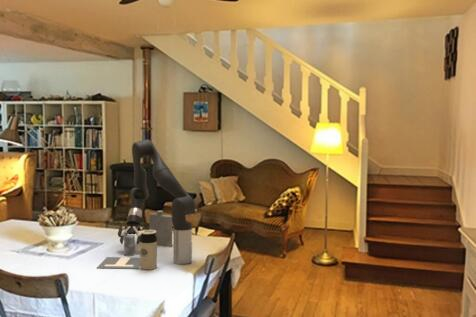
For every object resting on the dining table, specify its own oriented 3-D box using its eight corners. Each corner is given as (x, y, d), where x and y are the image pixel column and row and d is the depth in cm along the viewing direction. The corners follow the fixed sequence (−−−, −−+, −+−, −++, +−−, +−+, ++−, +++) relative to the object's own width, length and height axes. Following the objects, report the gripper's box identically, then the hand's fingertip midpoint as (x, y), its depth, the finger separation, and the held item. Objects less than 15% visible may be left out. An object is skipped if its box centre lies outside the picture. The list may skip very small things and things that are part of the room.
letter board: (145, 258, 224) (145, 257, 224) (137, 269, 207) (137, 268, 207) (107, 257, 224) (107, 256, 224) (96, 268, 207) (96, 267, 207)
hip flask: (173, 245, 249) (173, 211, 247) (168, 247, 245) (169, 212, 244) (151, 241, 256) (151, 208, 255) (147, 243, 253) (147, 209, 251)
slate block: (134, 253, 233) (134, 235, 232) (132, 255, 229) (132, 237, 228) (126, 253, 233) (126, 235, 232) (124, 255, 229) (124, 237, 228)
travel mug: (149, 263, 216) (149, 228, 214) (160, 267, 211) (160, 231, 209) (136, 267, 210) (136, 231, 208) (147, 271, 205) (147, 234, 203)
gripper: (120, 213, 238) (114, 239, 228) (146, 214, 238) (141, 240, 228) (123, 221, 244) (117, 246, 234) (148, 221, 244) (143, 247, 234)
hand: (129, 243), depth 231 cm, fingers open, 8 cm apart
